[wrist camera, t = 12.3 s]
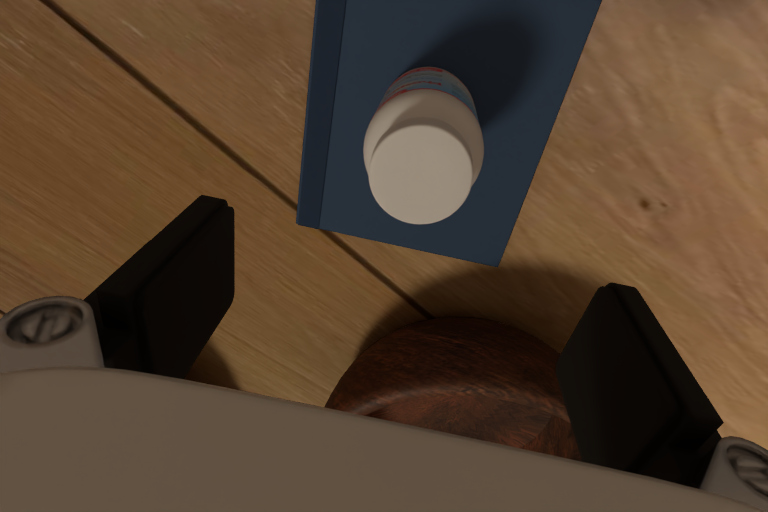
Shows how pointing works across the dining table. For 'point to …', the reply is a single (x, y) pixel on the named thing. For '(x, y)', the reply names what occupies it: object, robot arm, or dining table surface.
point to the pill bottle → (423, 146)
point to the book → (480, 76)
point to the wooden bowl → (463, 384)
